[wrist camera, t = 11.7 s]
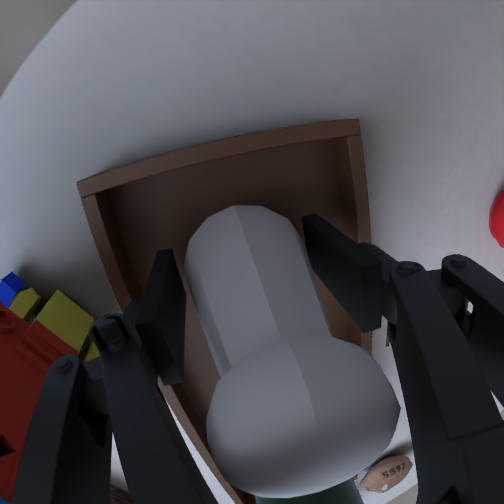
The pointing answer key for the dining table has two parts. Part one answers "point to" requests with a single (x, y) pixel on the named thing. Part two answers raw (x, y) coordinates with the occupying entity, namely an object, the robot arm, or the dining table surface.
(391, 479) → the oil lamp
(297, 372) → the salt shaker
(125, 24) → the dining table surface
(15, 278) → the toy train
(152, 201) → the walnut tray
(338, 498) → the green bottle
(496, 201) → the beverage can
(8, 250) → the dining table surface
